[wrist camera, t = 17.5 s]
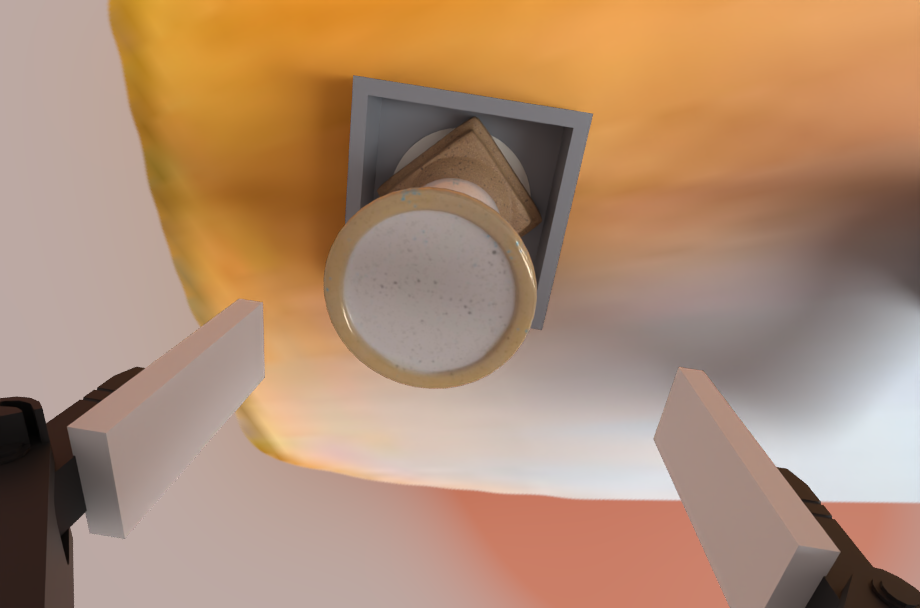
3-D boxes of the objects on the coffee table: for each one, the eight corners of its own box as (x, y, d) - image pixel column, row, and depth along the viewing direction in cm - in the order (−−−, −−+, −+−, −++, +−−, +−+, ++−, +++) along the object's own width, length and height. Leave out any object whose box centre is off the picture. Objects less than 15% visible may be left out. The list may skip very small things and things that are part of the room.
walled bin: (580, 112, 43) (592, 113, 37) (536, 304, 50) (541, 329, 44) (371, 78, 43) (353, 75, 37) (357, 275, 50) (340, 297, 44)
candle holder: (377, 186, 45) (265, 268, 23) (476, 112, 42) (455, 125, 20) (447, 279, 48) (407, 431, 26) (543, 217, 45) (590, 328, 23)
